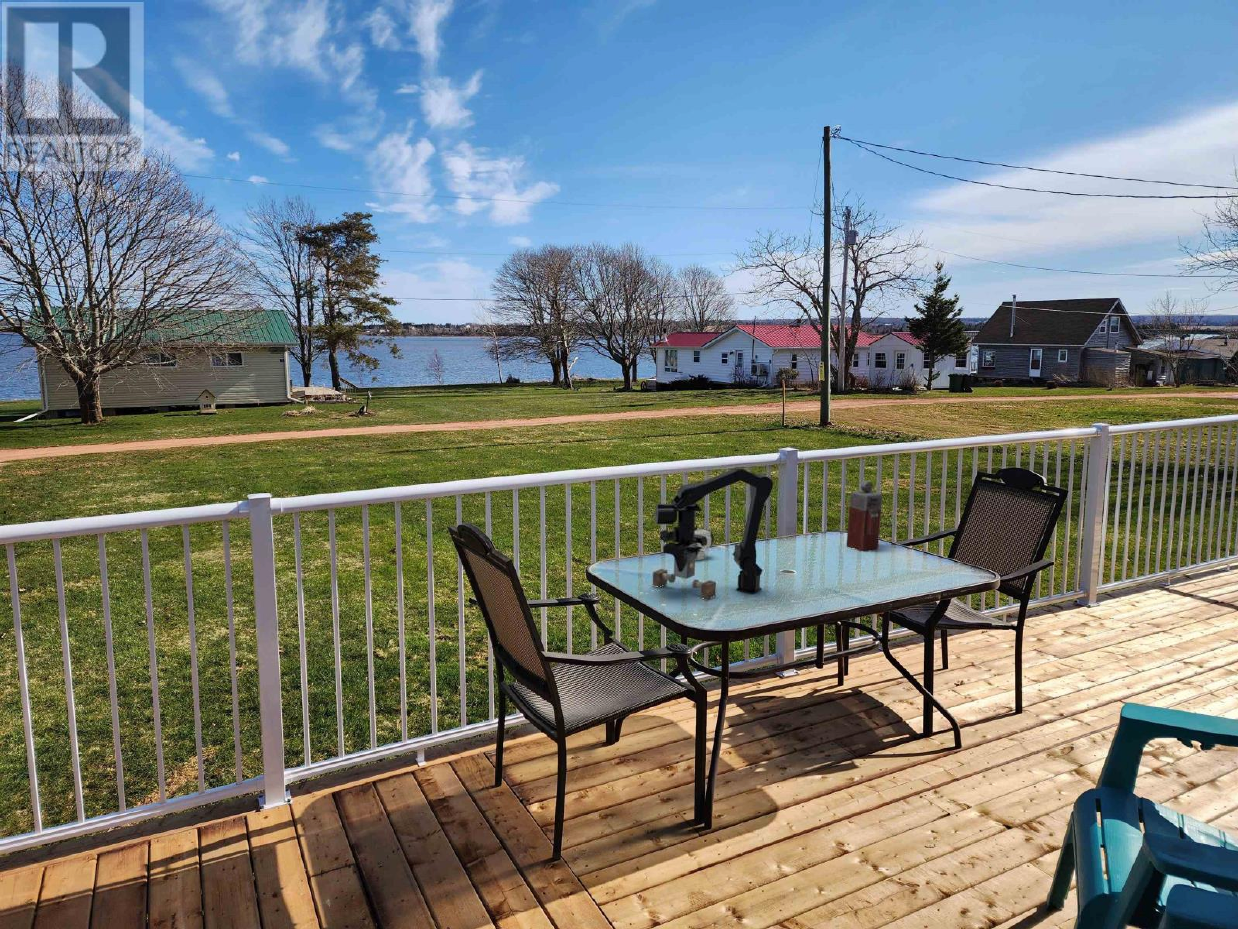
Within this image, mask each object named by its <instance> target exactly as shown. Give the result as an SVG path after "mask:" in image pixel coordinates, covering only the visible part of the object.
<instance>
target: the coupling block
mask: <svg viewBox="0 0 1238 929" xmlns="http://www.w3.org/2000/svg"><path fill="white" fill-rule="evenodd" d="M685 553H688V555H687V558H686V561H685V564H684V567H683V570H682V572H679V571H678V567H677V564H676V561H675V558H674V557H673V558H674V559H673V560H674V561H673V562H674V563H673V574H674V576H676V577H677V578H682V579H685V580H687V579H690V578H692V577H694V576H695V575H696V574H695V572H696V571H695V570H696V569H695V568H696V560H695V552H693V551H688V550H685Z"/></svg>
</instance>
